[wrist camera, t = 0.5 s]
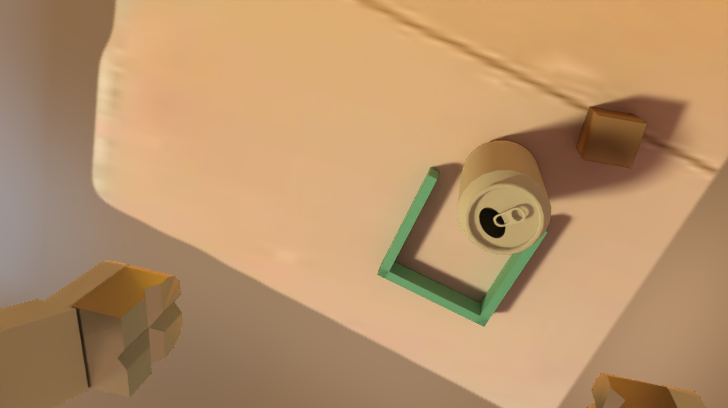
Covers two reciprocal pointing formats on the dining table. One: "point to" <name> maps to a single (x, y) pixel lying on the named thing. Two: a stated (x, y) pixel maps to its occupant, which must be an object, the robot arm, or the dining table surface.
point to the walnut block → (610, 137)
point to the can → (502, 198)
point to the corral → (440, 292)
